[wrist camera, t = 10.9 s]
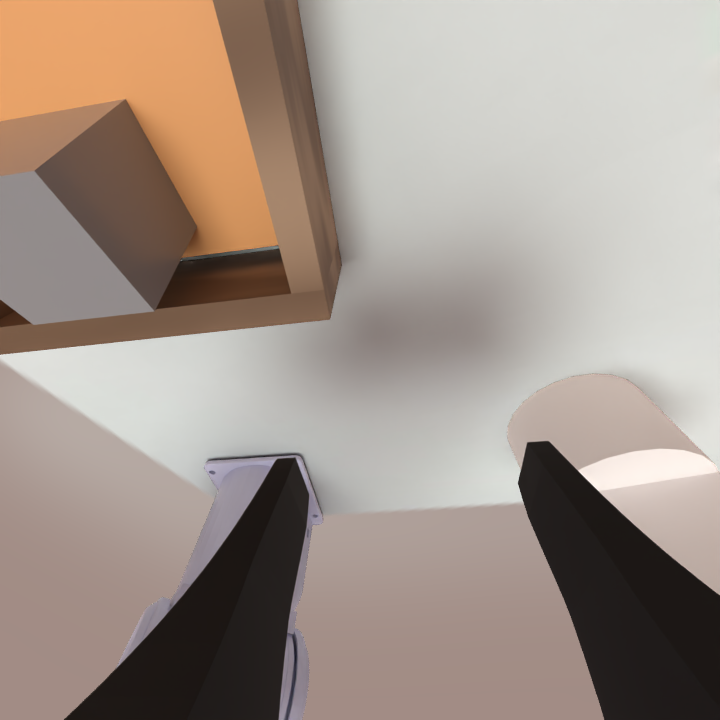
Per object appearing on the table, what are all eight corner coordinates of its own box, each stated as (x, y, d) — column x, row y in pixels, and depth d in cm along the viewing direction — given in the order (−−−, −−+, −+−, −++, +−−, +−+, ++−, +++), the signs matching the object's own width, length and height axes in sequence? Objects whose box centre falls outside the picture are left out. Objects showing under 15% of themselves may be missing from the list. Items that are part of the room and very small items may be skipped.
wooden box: (341, 264, 18) (330, 319, 13) (77, 297, 19) (-24, 356, 14) (248, -290, 9) (100, -783, 4) (-219, -151, 11) (-736, -390, 6)
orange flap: (296, 230, 15) (294, 243, 15) (58, 262, 17) (47, 275, 16) (101, -392, 6) (71, -430, 5) (-423, -213, 7) (-496, -226, 6)
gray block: (197, 226, 14) (154, 311, 11) (100, 239, 14) (33, 324, 11) (125, 98, 11) (33, 170, 8) (1, 121, 11) (-134, 197, 8)
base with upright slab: (512, 473, 27) (592, 671, 17) (500, 393, 22) (600, 603, 13) (637, 451, 25) (805, 658, 16) (653, 358, 20) (911, 573, 11)
